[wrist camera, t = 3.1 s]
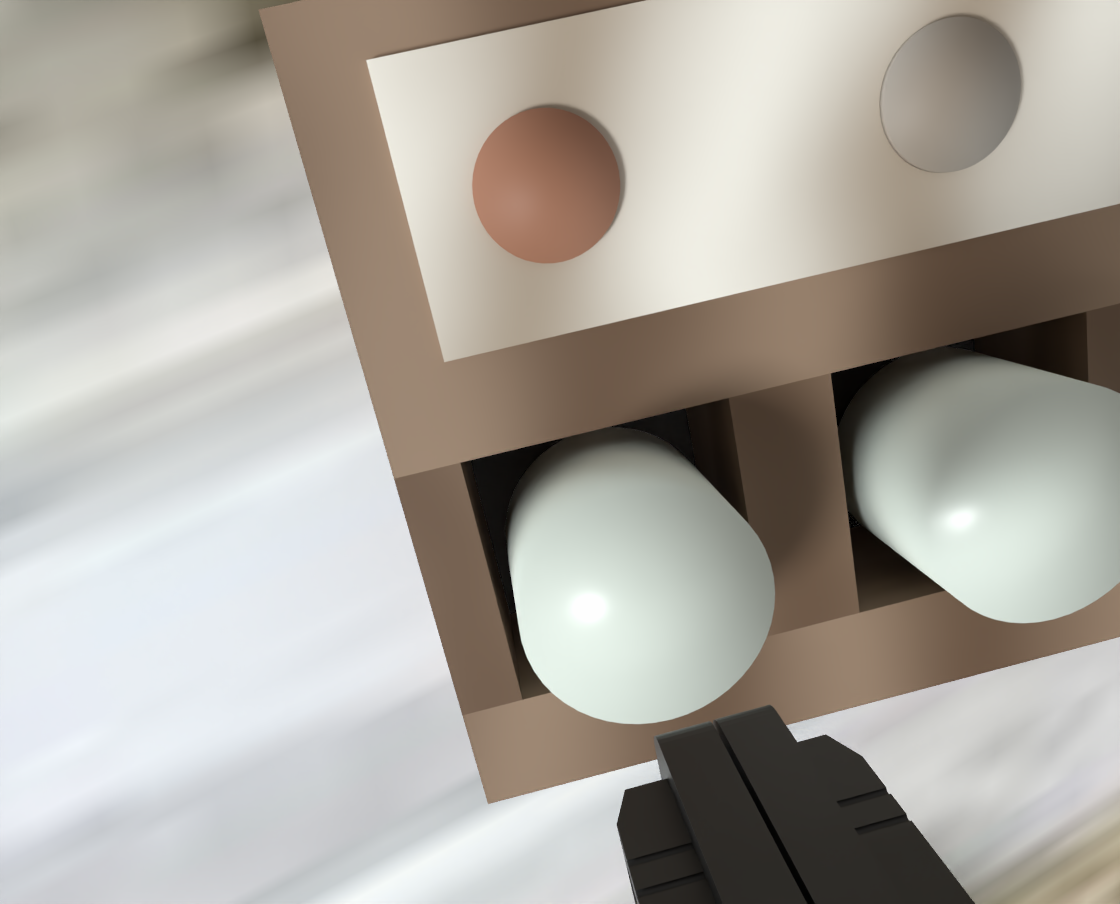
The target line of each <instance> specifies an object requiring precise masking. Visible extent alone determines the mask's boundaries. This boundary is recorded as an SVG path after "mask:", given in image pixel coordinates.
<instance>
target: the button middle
mask: <svg viewBox="0 0 1120 904" xmlns="http://www.w3.org/2000/svg"><path fill="white" fill-rule="evenodd" d="M838 437H839V446H840V454H841V462H842V470H843V479H844V487H845V495H846V503H847V510H848V511H849V512H850V514H851V515H852V516H853V517H854V518H855V519H856V520H857V521H858V522H859V523H860V524H861V525H862V526H863V527H865V528H866V529H867V530H869V531H870V532H871V533H872V534H874V535H875V536H876V537H878V538H879V539H880V540H881V541H883V542H884V543H885V544H887V545H888V546H889V547H890V548H892V549H893V550H894V551H896V552H897V553H898V554H900V555H901V556H902V557H903V558H905V559H906V560H907V561H909V562H910V563H911V564H912V565H914V566H915V567H916V568H918V569H919V570H920V571H922V572H923V573H924V574H925V575H927V576H928V577H929V578H931V579H932V580H933V581H934V582H936V583H937V584H938V585H940V586H941V587H942V588H944V589H945V590H946V591H947V592H949V593H950V594H951V595H953V596H954V597H955V598H956V599H958V600H959V601H960V602H962V603H963V604H964V605H966V606H967V607H968V608H970V609H971V610H973V611H975V612H977V613H979V614H981V615H983V616H986V617H989V618H992V619H995V620H999V621H1004V622H1010V623H1035V622H1042V621H1047V620H1052V619H1056V618H1059V617H1062V616H1065V615H1069V614H1071V613H1073V612H1075V611H1078V610H1080V609H1082V608H1084V607H1086V606H1087V605H1089V604H1091V603H1093V602H1094V601H1096V600H1098V599H1099V598H1100V597H1102V596H1103V595H1105V594H1106V593H1107V592H1109V591H1110V590H1111V589H1112V588H1113V587H1115V586H1116V585H1117V584H1118V583H1119V582H1120V393H1118V392H1115V391H1113V390H1111V389H1108V388H1106V387H1102V386H1098V385H1095V384H1091V383H1087V382H1084V381H1080V380H1076V379H1073V378H1069V377H1065V376H1062V375H1058V374H1054V373H1051V372H1047V371H1043V370H1040V369H1036V368H1032V367H1029V366H1025V365H1021V364H1018V363H1014V362H1010V361H1007V360H1003V359H999V358H996V357H992V356H988V355H985V354H981V353H977V352H974V351H970V350H966V349H962V348H954V347H937V348H933V349H929V350H925V351H921V352H916V353H912V354H908V355H905V356H902V357H900V358H898V359H896V360H894V361H893V362H891V363H889V364H888V365H886V366H884V367H883V368H882V369H881V370H879V371H878V372H877V373H875V374H874V375H873V376H872V377H871V378H870V379H869V380H868V381H867V382H866V383H865V384H864V385H863V386H862V387H861V388H860V390H859V391H858V392H857V393H856V395H855V396H854V397H853V399H852V400H851V402H850V404H849V405H848V407H847V408H846V411H845V413H844V415H843V417H842V419H841V421H840V424H839V427H838Z"/></svg>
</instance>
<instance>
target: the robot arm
mask: <svg viewBox="0 0 1120 904" xmlns="http://www.w3.org/2000/svg"><path fill="white" fill-rule="evenodd" d="M654 745H655V750H656V755H657V760H658V764H659V769H660V774H661V778H662V780H659V781H656V782H652V783H648V784H645V785H641V786H638V787H634V788H630V789H627V790H625V792H624V797H623V801H622V805H621V809H620V813H619V817H618V822H617V828H618V832H619V836H620V841H621V845H622V849H623V853H624V857H625V862H626V866H627V870H628V874H629V878H630V883H631V887H632V891H633V895H634V899H635V904H975V903H974V902H973V900H972V899H971V898H970V897H969V895H968V894H967V893H966V891H965V890H964V889H963V887H962V886H961V885H960V883H959V882H958V881H957V880H956V878H955V877H954V876H953V874H952V873H951V872H950V870H949V869H948V868H947V866H946V865H945V864H944V863H943V861H942V860H941V859H940V857H939V856H938V855H937V853H936V852H935V851H934V850H933V848H932V847H931V846H930V844H929V843H928V842H927V840H926V839H925V838H924V836H923V835H922V834H921V833H920V831H919V830H918V829H917V827H916V826H915V825H914V823H913V822H912V821H909V820H908V818H907V815H906V813H905V812H904V810H903V809H902V808H901V806H900V805H899V804H898V802H897V801H896V800H895V799H894V797H893V796H892V795H891V794H888V792H887V789H886V787H885V785H884V784H883V783H882V782H881V780H880V779H879V778H878V776H877V775H876V774H875V772H874V771H873V770H872V768H871V767H870V766H869V765H868V763H867V762H866V761H865V759H864V758H863V757H862V756H861V755H859V754H857V753H856V752H854V751H852V750H851V749H849V748H847V747H846V746H844V745H842V744H841V743H839V742H837V741H836V740H834V739H832V738H831V737H829V736H827V735H822V736H819V737H815V738H811V739H808V740H804V741H800V742H797V741H796V740H795V738H794V737H793V735H792V734H791V732H790V731H789V729H788V728H787V726H786V725H785V723H784V722H783V720H782V719H781V717H780V716H779V714H778V713H777V711H776V710H775V708H774V707H773V706H771V705H766V706H763V707H759V708H755V709H752V710H748V711H744V712H740V713H737V714H733V715H729V716H726V717H722V718H718V719H715V720H713V724H712V722H710V721H708V722H704V723H701V724H697V725H693V726H690V727H686V728H682V729H679V730H675V731H671V732H668V733H664V734H660V735H656V736H654Z"/></svg>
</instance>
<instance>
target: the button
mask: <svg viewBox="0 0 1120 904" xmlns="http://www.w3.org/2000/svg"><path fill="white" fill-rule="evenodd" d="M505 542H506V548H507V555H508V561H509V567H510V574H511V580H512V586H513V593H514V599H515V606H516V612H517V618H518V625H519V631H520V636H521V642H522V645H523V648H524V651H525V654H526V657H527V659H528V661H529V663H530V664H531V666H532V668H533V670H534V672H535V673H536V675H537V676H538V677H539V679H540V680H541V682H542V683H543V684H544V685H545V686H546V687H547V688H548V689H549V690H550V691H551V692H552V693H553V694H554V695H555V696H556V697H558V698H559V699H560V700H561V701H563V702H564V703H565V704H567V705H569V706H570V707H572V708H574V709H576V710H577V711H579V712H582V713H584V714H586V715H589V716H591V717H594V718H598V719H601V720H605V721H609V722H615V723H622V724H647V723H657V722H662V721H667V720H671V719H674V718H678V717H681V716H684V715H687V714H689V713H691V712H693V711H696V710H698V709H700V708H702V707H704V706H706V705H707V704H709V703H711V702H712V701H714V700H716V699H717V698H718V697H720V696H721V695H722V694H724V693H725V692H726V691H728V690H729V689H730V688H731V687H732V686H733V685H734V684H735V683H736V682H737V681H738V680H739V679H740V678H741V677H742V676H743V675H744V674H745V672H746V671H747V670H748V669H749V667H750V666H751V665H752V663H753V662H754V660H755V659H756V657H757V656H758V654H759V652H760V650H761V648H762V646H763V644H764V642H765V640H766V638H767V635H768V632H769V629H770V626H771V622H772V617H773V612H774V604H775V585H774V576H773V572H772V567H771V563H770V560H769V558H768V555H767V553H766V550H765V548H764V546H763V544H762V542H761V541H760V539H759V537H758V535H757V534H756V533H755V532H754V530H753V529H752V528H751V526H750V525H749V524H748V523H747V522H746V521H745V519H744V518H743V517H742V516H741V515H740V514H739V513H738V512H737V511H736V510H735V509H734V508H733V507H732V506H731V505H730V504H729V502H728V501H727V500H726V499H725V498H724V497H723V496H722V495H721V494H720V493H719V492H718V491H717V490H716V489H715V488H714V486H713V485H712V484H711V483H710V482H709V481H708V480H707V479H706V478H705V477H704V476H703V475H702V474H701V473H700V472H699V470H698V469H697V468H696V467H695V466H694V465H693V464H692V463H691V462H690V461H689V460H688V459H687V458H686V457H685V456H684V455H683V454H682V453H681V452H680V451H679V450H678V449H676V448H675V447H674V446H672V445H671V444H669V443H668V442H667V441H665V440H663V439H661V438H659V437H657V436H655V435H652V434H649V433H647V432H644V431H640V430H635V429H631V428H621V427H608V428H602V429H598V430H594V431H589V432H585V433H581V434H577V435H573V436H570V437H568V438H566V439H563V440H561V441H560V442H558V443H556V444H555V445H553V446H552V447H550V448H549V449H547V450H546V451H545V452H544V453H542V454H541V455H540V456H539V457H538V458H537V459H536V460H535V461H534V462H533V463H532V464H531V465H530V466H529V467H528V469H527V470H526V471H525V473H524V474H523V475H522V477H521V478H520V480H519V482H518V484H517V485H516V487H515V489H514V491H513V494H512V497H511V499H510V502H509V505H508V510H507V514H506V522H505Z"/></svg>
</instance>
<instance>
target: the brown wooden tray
mask: <svg viewBox="0 0 1120 904" xmlns="http://www.w3.org/2000/svg"><path fill="white" fill-rule="evenodd" d="M259 13H260V16H261V20H262V23H263V27H264V30H265V34H266V37H267V41H268V44H269V47H270V51H271V54H272V58H273V61H274V65H275V68H276V72H277V75H278V79H279V82H280V86H281V89H282V92H283V96H284V99H285V103H286V106H287V110H288V113H289V117H290V120H291V124H292V127H293V130H294V134H295V137H296V141H297V144H298V148H299V151H300V155H301V158H302V162H303V165H304V169H305V172H306V175H307V179H308V182H309V186H310V189H311V193H312V196H313V200H314V203H315V207H316V210H317V214H318V217H319V220H320V224H321V227H322V231H323V234H324V238H325V241H326V245H327V248H328V252H329V255H330V258H331V262H332V265H333V269H334V272H335V276H336V279H337V283H338V286H339V290H340V293H341V297H342V300H343V303H344V307H345V310H346V314H347V317H348V321H349V324H350V328H351V331H352V335H353V338H354V342H355V345H356V348H357V352H358V355H359V359H360V362H361V366H362V369H363V373H364V376H365V380H366V383H367V386H368V390H369V393H370V397H371V400H372V404H373V407H374V411H375V414H376V418H377V421H378V425H379V428H380V431H381V435H382V438H383V442H384V445H385V449H386V452H387V456H388V459H389V463H390V466H391V470H392V473H393V476H394V480H395V483H396V487H397V490H398V494H399V497H400V501H401V504H402V508H403V511H404V514H405V518H406V521H407V525H408V528H409V532H410V535H411V539H412V542H413V546H414V549H415V553H416V556H417V559H418V563H419V566H420V570H421V573H422V577H423V580H424V584H425V587H426V591H427V594H428V598H429V601H430V604H431V608H432V611H433V615H434V618H435V622H436V625H437V629H438V632H439V636H440V639H441V642H442V646H443V649H444V653H445V656H446V660H447V663H448V667H449V670H450V674H451V677H452V681H453V684H454V687H455V691H456V694H457V698H458V701H459V705H460V708H461V712H462V715H463V719H464V722H465V726H466V729H467V732H468V736H469V739H470V743H471V746H472V750H473V753H474V757H475V760H476V764H477V767H478V771H479V774H480V777H481V781H482V784H483V788H484V791H485V795H486V798H487V802H488V804H490V803H494V802H497V801H501V800H505V799H509V798H512V797H516V796H520V795H524V794H528V793H531V792H535V791H539V790H543V789H546V788H550V787H554V786H558V785H562V784H565V783H569V782H573V781H577V780H581V779H584V778H588V777H592V776H596V775H599V774H603V773H607V772H611V771H615V770H618V769H622V768H626V767H630V766H633V765H637V764H641V763H645V762H649V761H652V760H656V759H657V755H656V750H655V745H654V736H656V735H660V734H664V733H668V732H671V731H675V730H679V729H682V728H686V727H690V726H693V725H697V724H701V723H704V722H708V721H710V722H712V724H713V720H715V719H718V718H722V717H726V716H729V715H733V714H737V713H740V712H744V711H748V710H752V709H755V708H759V707H763V706H766V705H771V706H773V707H774V708H775V710H776V711H777V713H778V714H779V716H780V717H781V719H782V720H783V722H784V723H785V725H788V724H792V723H796V722H800V721H804V720H807V719H811V718H815V717H819V716H822V715H826V714H830V713H834V712H838V711H841V710H845V709H849V708H853V707H856V706H860V705H864V704H868V703H872V702H875V701H879V700H883V699H887V698H890V697H894V696H898V695H902V694H906V693H909V692H913V691H917V690H921V689H924V688H928V687H932V686H936V685H940V684H943V683H947V682H951V681H955V680H959V679H962V678H966V677H970V676H974V675H977V674H981V673H985V672H989V671H993V670H996V669H1000V668H1004V667H1008V666H1011V665H1015V664H1019V663H1023V662H1027V661H1030V660H1034V659H1038V658H1042V657H1045V656H1049V655H1053V654H1057V653H1061V652H1064V651H1068V650H1072V649H1076V648H1079V647H1083V646H1087V645H1091V644H1095V643H1098V642H1102V641H1106V640H1110V639H1113V638H1117V637H1120V582H1119V583H1118V584H1117V585H1116V586H1115V587H1113V588H1112V589H1111V590H1110V591H1109V592H1107V593H1106V594H1105V595H1103V596H1102V597H1100V598H1099V599H1098V600H1096V601H1094V602H1093V603H1091V604H1089V605H1087V606H1086V607H1084V608H1082V609H1080V610H1078V611H1075V612H1073V613H1071V614H1069V615H1065V616H1062V617H1059V618H1056V619H1052V620H1047V621H1042V622H1035V623H1010V622H1004V621H999V620H995V619H992V618H989V617H986V616H983V615H981V614H979V613H977V612H975V611H973V610H971V609H970V608H968V607H967V606H966V605H964V604H963V603H962V602H960V601H959V600H958V599H956V598H955V597H954V596H953V595H951V594H950V593H949V592H947V591H946V590H945V589H944V588H942V587H941V586H940V585H938V584H937V583H936V582H934V581H933V580H932V579H931V578H929V577H928V576H927V575H925V574H924V573H923V572H922V571H920V570H919V569H918V568H916V567H915V566H914V565H912V564H911V563H910V562H909V561H907V560H906V559H905V558H903V557H902V556H901V555H900V554H898V553H897V552H896V551H894V550H893V549H892V548H890V547H889V546H888V545H887V544H885V543H884V542H883V541H881V540H880V539H879V538H878V537H876V536H875V535H874V534H872V533H871V532H870V531H869V530H867V529H866V528H865V527H863V526H862V525H861V526H857V527H853V528H849V520H848V512H847V503H846V495H845V487H844V479H843V470H842V462H841V454H840V446H839V437H838V429H837V421H836V413H835V404H834V396H833V388H832V380H831V373H834V372H838V371H842V370H846V369H850V368H854V367H858V366H863V365H867V364H871V363H875V362H879V361H883V360H887V359H892V358H896V357H900V356H904V355H908V354H912V353H916V352H921V351H925V350H929V349H933V348H937V347H941V346H945V345H950V344H954V343H958V342H962V341H966V340H970V339H974V347H975V352H977V353H981V354H985V355H988V356H992V357H996V358H999V359H1003V360H1007V361H1010V362H1014V363H1018V364H1021V365H1025V366H1029V367H1032V368H1036V369H1040V370H1043V371H1047V372H1051V373H1054V374H1058V375H1062V376H1065V377H1069V378H1073V379H1076V380H1080V381H1084V382H1087V383H1091V384H1095V385H1098V386H1102V387H1106V388H1108V389H1111V390H1113V391H1115V392H1118V393H1120V0H302V1H297V2H293V3H288V4H283V5H278V6H274V7H269V8H264V9H259ZM685 408H686V414H687V420H688V425H689V431H690V437H691V442H692V448H693V454H694V460H695V465H696V468H697V469H698V470H699V472H700V473H701V474H702V475H703V476H704V477H705V478H706V479H707V480H708V481H709V482H710V483H711V484H712V485H713V486H714V488H715V489H716V490H717V491H718V492H719V493H720V494H721V495H722V496H723V497H724V498H725V499H726V500H727V501H728V502H729V504H730V505H731V506H732V507H733V508H734V509H735V510H736V511H737V512H738V513H739V514H740V515H741V516H742V517H743V518H744V519H745V521H746V522H747V523H748V524H749V525H750V526H751V528H752V529H753V530H754V532H755V533H756V534H757V535H758V537H759V539H760V541H761V542H762V544H763V546H764V548H765V550H766V553H767V555H768V558H769V560H770V563H771V567H772V572H773V576H774V585H775V604H774V612H773V617H772V622H771V626H770V629H769V632H768V635H767V638H766V640H765V642H764V644H763V646H762V648H761V650H760V652H759V654H758V656H757V657H756V659H755V660H754V662H753V663H752V665H751V666H750V667H749V669H748V670H747V671H746V672H745V674H744V675H743V676H742V677H741V678H740V679H739V680H738V681H737V682H736V683H735V684H734V685H733V686H732V687H731V688H730V689H729V690H728V691H726V692H725V693H724V694H722V695H721V696H720V697H718V698H717V699H716V700H714V701H712V702H711V703H709V704H707V705H706V706H704V707H702V708H700V709H698V710H696V711H693V712H691V713H689V714H687V715H684V716H681V717H678V718H674V719H671V720H667V721H662V722H657V723H647V724H622V723H615V722H609V721H605V720H601V719H598V718H594V717H591V716H589V715H586V714H584V713H582V712H579V711H577V710H576V709H574V708H572V707H570V706H569V705H567V704H565V703H564V702H563V701H561V700H560V699H559V698H558V697H556V696H555V695H554V694H553V693H552V692H551V691H550V690H549V689H548V688H547V687H546V686H545V685H544V684H543V683H542V682H541V680H540V679H539V677H538V676H537V675H536V673H535V672H534V670H533V668H532V666H531V664H530V663H529V661H528V659H527V657H526V654H525V651H524V648H523V645H522V642H521V636H520V631H519V625H518V618H517V612H516V613H512V614H510V610H509V606H508V602H507V599H506V595H505V591H504V587H503V583H502V579H501V575H500V572H499V568H498V564H497V560H496V556H495V552H494V548H493V544H492V541H491V537H490V533H489V529H488V525H487V521H486V517H485V514H484V510H483V506H482V502H481V498H480V494H479V490H478V486H477V483H476V479H475V475H474V471H473V467H472V463H471V460H474V459H478V458H482V457H486V456H490V455H494V454H498V453H503V452H507V451H511V450H515V449H519V448H523V447H527V446H532V445H536V444H540V443H544V442H548V441H552V440H556V439H560V438H565V437H569V436H573V435H577V434H581V433H585V432H589V431H594V430H598V429H602V428H606V427H610V426H614V425H618V424H623V423H627V422H631V421H635V420H639V419H643V418H647V417H652V416H656V415H660V414H664V413H668V412H672V411H676V410H681V409H685Z"/></svg>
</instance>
